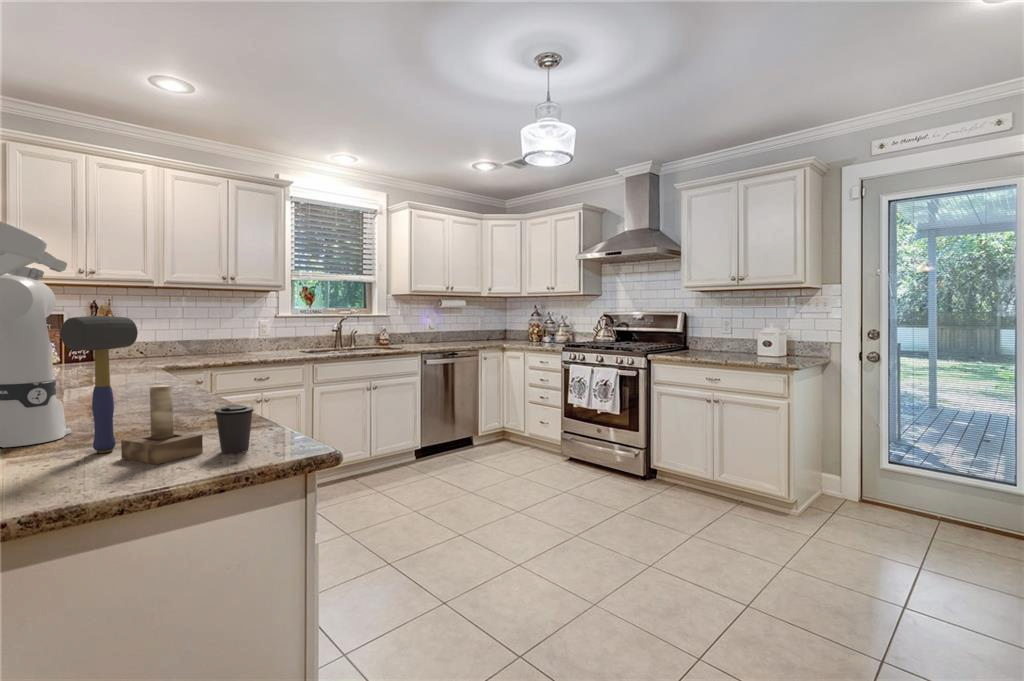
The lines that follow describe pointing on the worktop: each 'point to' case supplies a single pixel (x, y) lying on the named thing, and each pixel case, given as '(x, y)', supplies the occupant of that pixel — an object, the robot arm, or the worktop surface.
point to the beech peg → (161, 412)
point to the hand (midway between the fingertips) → (52, 272)
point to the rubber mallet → (100, 364)
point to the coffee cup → (234, 428)
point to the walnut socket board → (161, 448)
